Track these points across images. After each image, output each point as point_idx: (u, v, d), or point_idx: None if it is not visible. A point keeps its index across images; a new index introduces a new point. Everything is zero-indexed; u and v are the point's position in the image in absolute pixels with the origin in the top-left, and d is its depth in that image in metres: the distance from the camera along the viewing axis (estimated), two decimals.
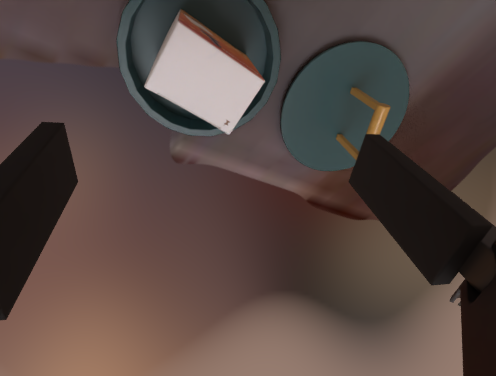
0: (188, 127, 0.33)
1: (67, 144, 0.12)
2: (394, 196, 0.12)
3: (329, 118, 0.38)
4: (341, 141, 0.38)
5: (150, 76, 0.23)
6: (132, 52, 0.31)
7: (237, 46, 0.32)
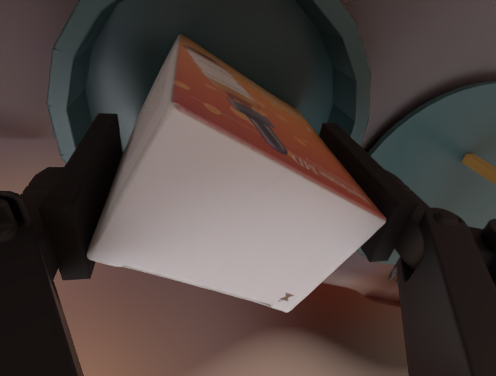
0: None
1: (119, 133, 0.13)
2: None
3: (421, 198, 0.23)
4: None
5: (99, 237, 0.08)
6: (91, 113, 0.16)
7: (282, 96, 0.18)
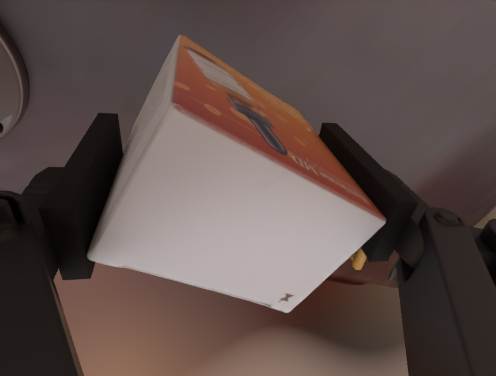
0: None
1: (119, 133, 0.13)
2: None
3: None
4: None
5: (100, 238, 0.08)
6: None
7: None
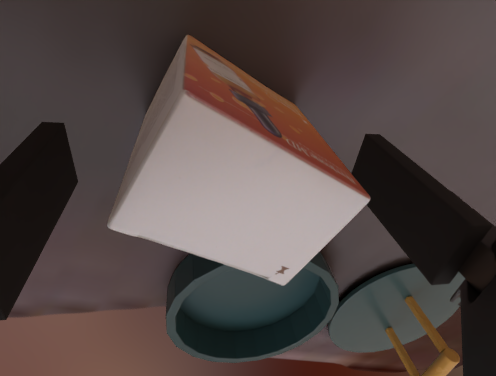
0: (234, 356, 0.31)
1: (67, 144, 0.12)
2: (394, 196, 0.12)
3: (380, 318, 0.35)
4: (393, 341, 0.35)
5: (119, 208, 0.10)
6: None
7: None
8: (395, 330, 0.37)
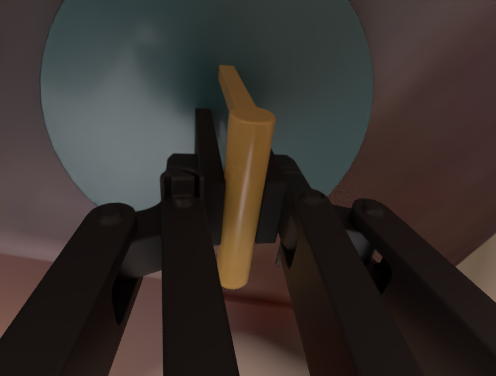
0: None
1: None
2: None
3: (183, 142, 0.16)
4: None
5: None
6: None
7: None
8: None
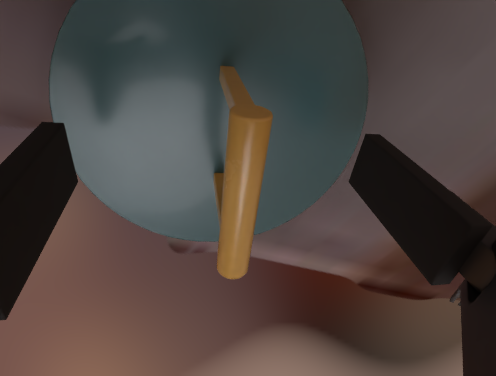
0: None
1: (67, 144, 0.12)
2: (394, 196, 0.12)
3: (185, 140, 0.16)
4: (215, 191, 0.17)
5: None
6: None
7: None
8: None
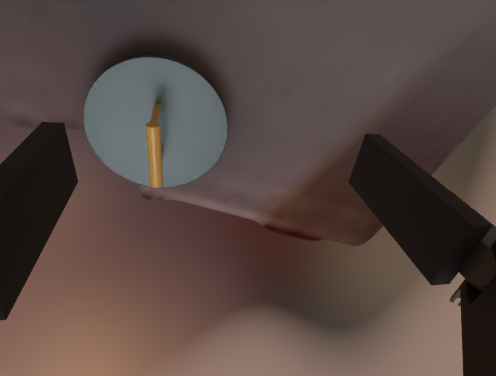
0: None
1: (67, 144, 0.12)
2: (394, 196, 0.12)
3: (142, 134, 0.36)
4: None
5: None
6: None
7: None
8: (170, 156, 0.38)
